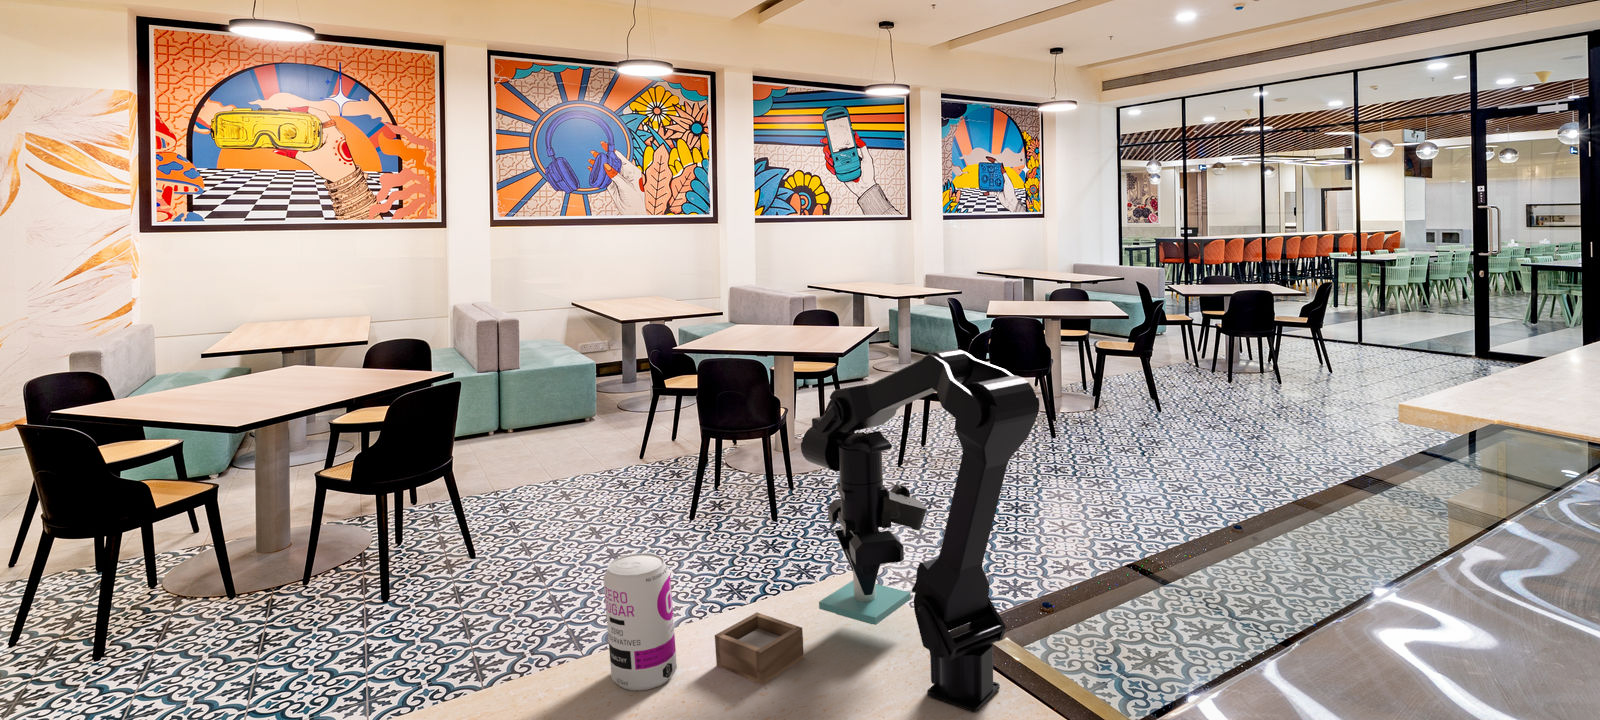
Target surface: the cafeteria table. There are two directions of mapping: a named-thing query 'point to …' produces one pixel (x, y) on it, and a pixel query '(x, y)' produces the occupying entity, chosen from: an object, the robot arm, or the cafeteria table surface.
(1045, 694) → the cafeteria table surface
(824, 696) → the cafeteria table surface
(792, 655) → the box
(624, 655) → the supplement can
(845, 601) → the lid
